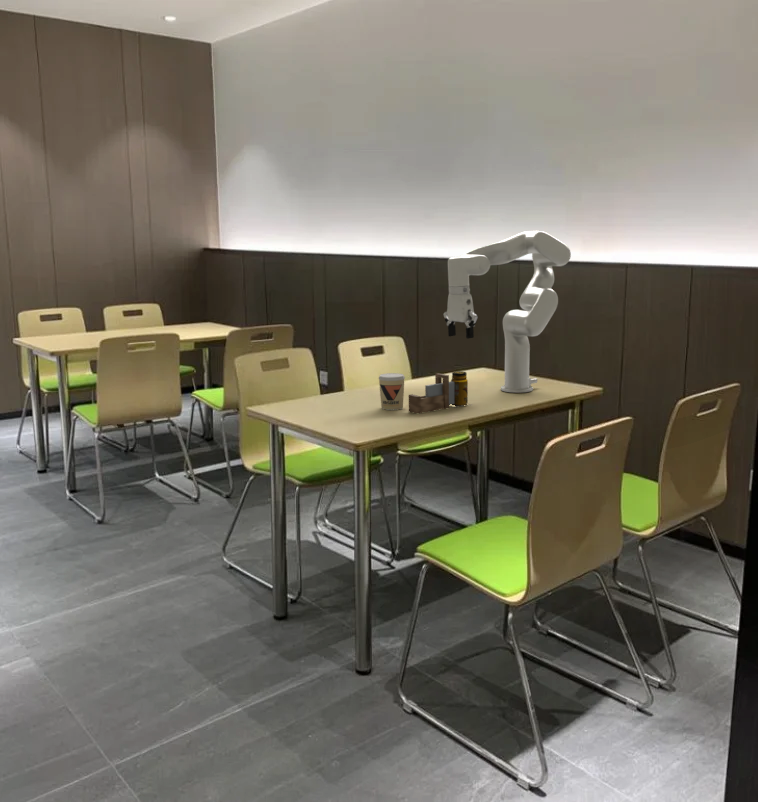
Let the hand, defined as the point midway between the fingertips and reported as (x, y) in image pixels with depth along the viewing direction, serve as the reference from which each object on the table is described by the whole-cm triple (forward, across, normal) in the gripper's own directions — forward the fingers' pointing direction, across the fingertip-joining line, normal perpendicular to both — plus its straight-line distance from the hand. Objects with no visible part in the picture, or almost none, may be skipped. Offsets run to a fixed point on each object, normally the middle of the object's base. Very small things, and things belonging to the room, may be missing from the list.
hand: (460, 336), depth 293 cm
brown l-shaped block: (+22, -7, +22) cm, 32 cm away
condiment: (+23, -7, +10) cm, 26 cm away
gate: (+23, -7, +18) cm, 30 cm away
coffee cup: (+22, +4, +31) cm, 38 cm away
